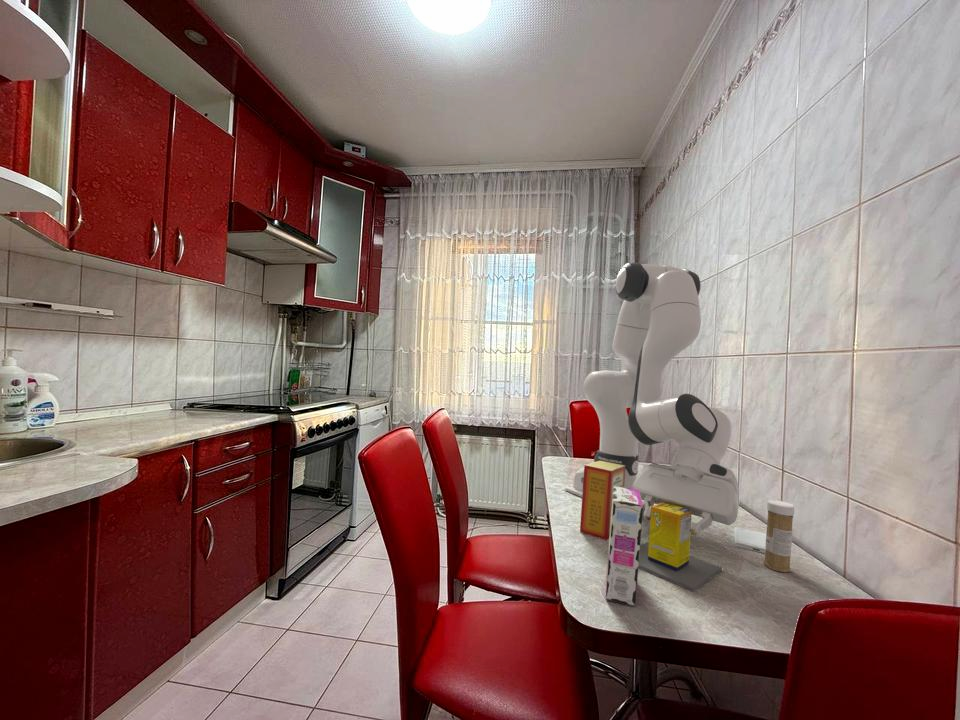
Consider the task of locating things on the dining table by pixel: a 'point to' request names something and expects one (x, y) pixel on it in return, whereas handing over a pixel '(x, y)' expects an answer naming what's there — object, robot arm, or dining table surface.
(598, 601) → the dining table surface
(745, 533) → the hard drive
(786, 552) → the sprinkles bottle
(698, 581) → the mat
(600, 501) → the baking soda box
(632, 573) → the candy bar box
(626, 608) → the dining table surface
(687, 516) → the supplement box
